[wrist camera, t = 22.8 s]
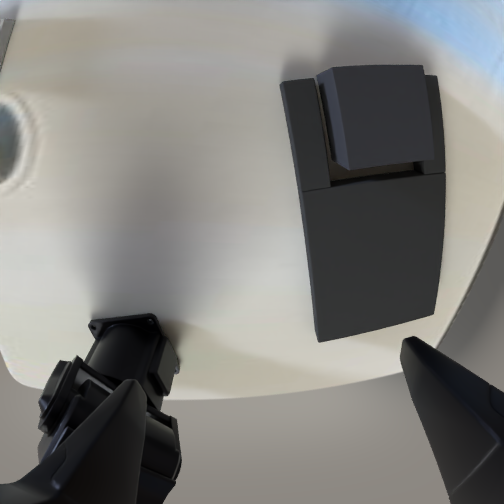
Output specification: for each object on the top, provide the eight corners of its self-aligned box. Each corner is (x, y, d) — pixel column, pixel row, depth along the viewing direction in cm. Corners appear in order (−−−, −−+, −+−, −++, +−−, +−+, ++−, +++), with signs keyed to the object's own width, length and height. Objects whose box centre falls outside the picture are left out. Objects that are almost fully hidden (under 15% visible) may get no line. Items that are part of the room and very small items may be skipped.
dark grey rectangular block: (331, 160, 18) (349, 170, 15) (316, 75, 16) (331, 67, 13) (407, 150, 18) (435, 159, 14) (395, 70, 15) (423, 65, 12)
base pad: (315, 330, 24) (318, 343, 22) (279, 84, 16) (282, 81, 15) (426, 304, 23) (434, 314, 22) (425, 76, 15) (437, 75, 14)
